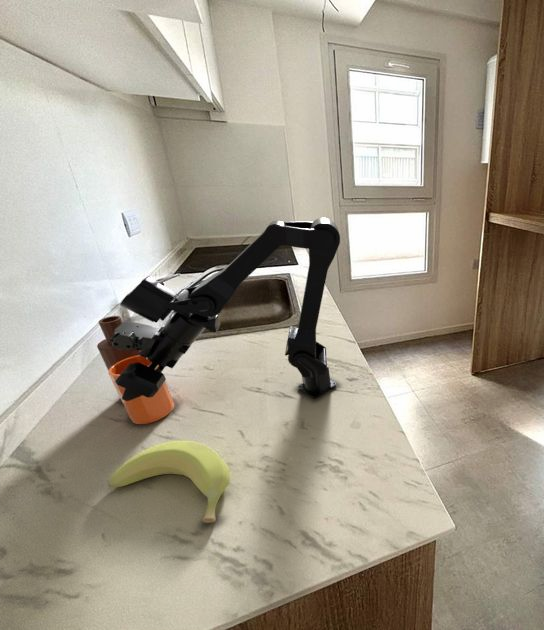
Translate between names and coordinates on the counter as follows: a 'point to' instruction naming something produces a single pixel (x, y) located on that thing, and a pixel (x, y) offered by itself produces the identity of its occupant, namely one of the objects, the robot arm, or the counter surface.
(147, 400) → the orange plastic tumbler
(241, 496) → the counter surface
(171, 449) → the banana
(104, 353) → the sauce bottle
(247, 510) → the counter surface
